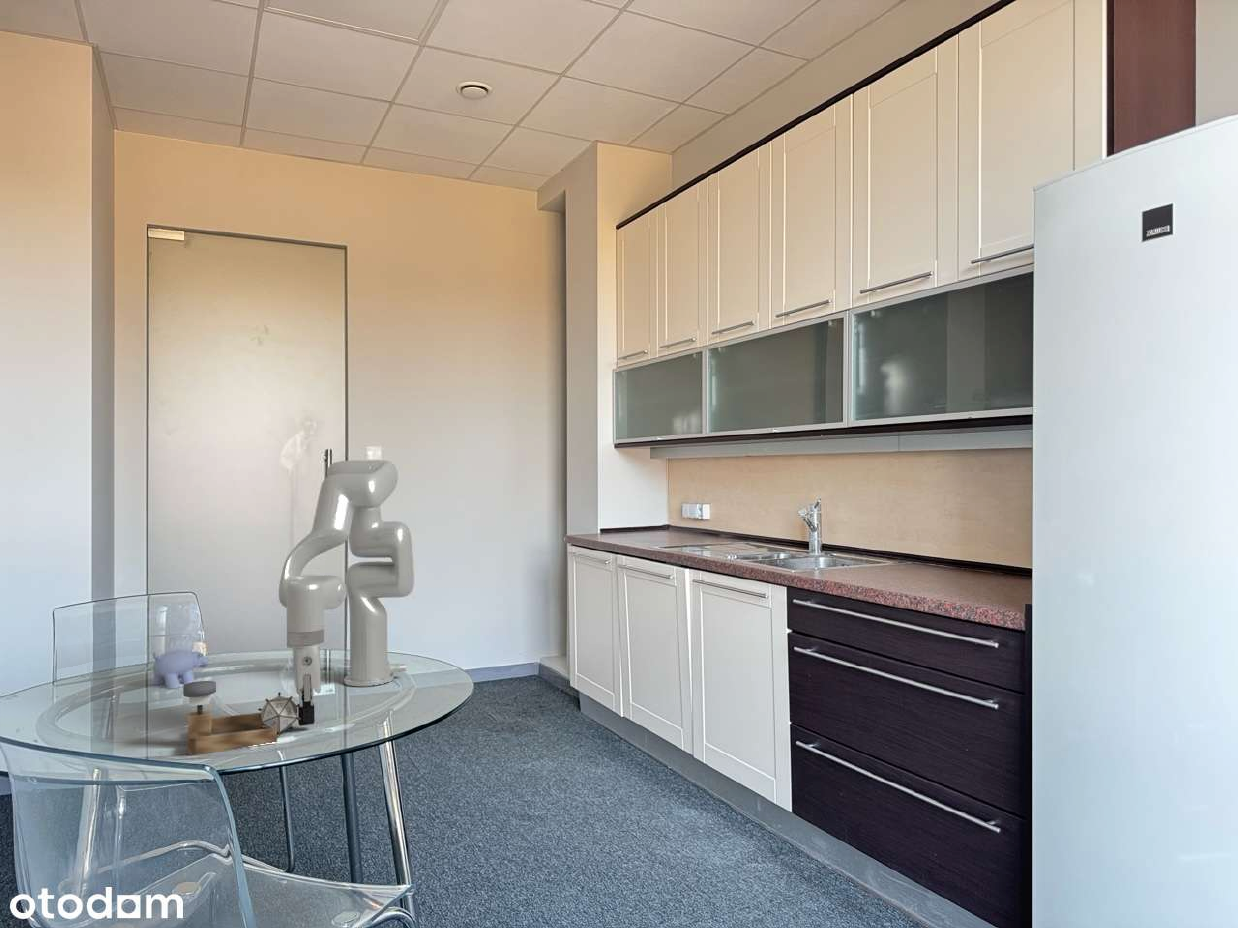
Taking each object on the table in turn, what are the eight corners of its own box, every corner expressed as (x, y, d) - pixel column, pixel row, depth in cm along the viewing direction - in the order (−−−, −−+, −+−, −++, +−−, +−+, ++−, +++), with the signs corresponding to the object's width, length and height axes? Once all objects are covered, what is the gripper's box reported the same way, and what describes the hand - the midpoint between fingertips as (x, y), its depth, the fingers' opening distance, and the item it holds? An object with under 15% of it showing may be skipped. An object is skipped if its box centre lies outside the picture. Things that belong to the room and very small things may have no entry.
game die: (275, 748, 176) (275, 703, 182) (310, 735, 175) (309, 690, 181) (247, 738, 169) (248, 692, 175) (283, 725, 168) (282, 679, 173)
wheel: (216, 697, 173) (216, 679, 173) (215, 704, 167) (215, 686, 167) (184, 700, 170) (184, 682, 170) (181, 708, 165) (181, 689, 165)
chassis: (276, 724, 181) (276, 688, 181) (276, 743, 168) (276, 705, 168) (192, 734, 174) (191, 697, 174) (185, 755, 161) (185, 715, 161)
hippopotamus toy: (218, 678, 223) (218, 643, 223) (163, 691, 210) (163, 654, 210) (196, 674, 228) (195, 640, 228) (140, 686, 216) (140, 650, 216)
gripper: (326, 643, 171) (327, 731, 171) (321, 630, 185) (322, 712, 185) (287, 646, 168) (288, 736, 168) (285, 633, 182) (286, 716, 182)
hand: (306, 723), depth 177 cm, fingers closed
